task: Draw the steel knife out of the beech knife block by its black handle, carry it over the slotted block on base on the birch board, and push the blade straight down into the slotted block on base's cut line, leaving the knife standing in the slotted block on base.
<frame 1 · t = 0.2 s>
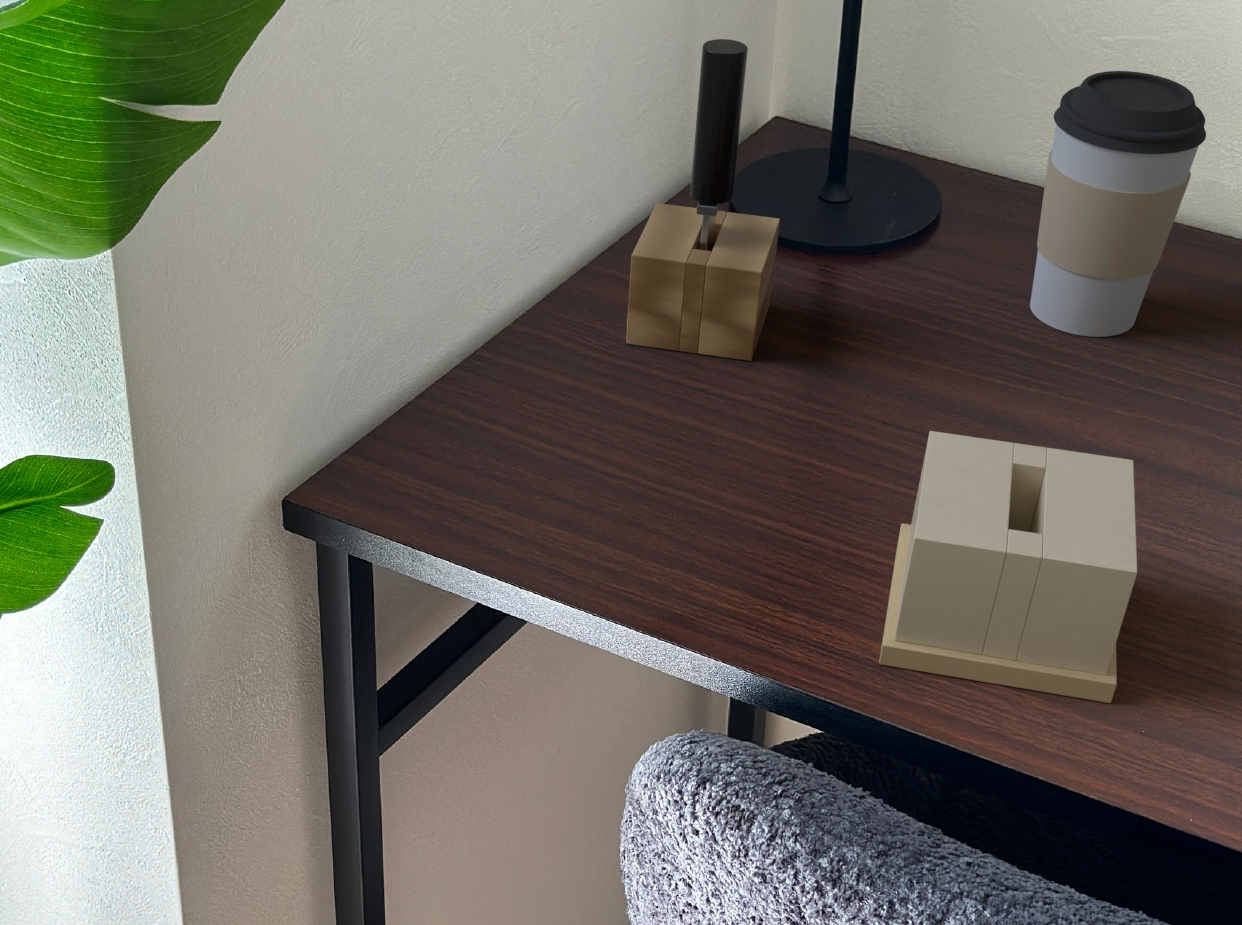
knife block: (699, 324, 110), on the table
slotted block on base: (998, 617, 87), on the table
knife: (711, 192, 105), in the knife block
coffee cup: (1081, 314, 113), on the table
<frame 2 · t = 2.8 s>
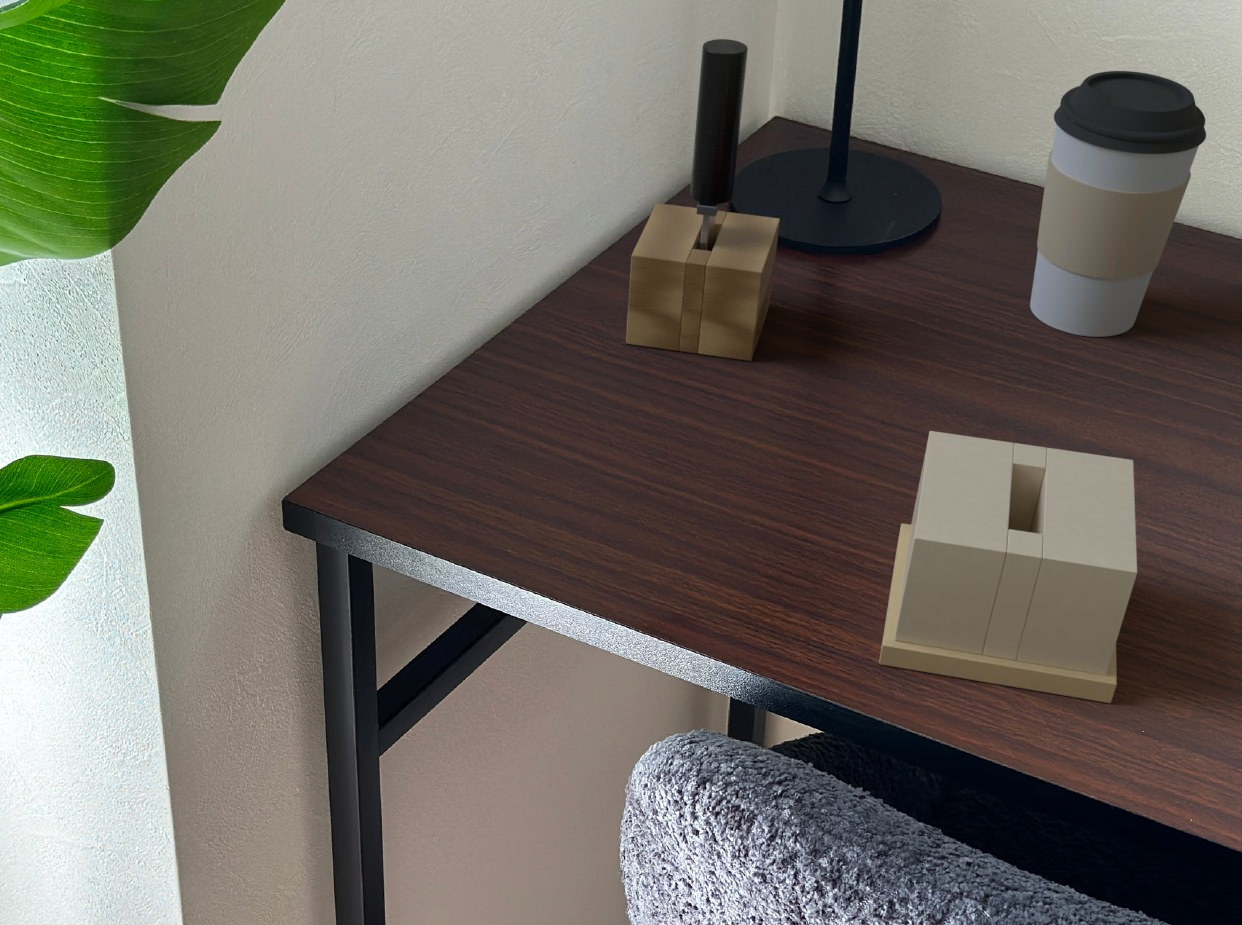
nothing on the table moved.
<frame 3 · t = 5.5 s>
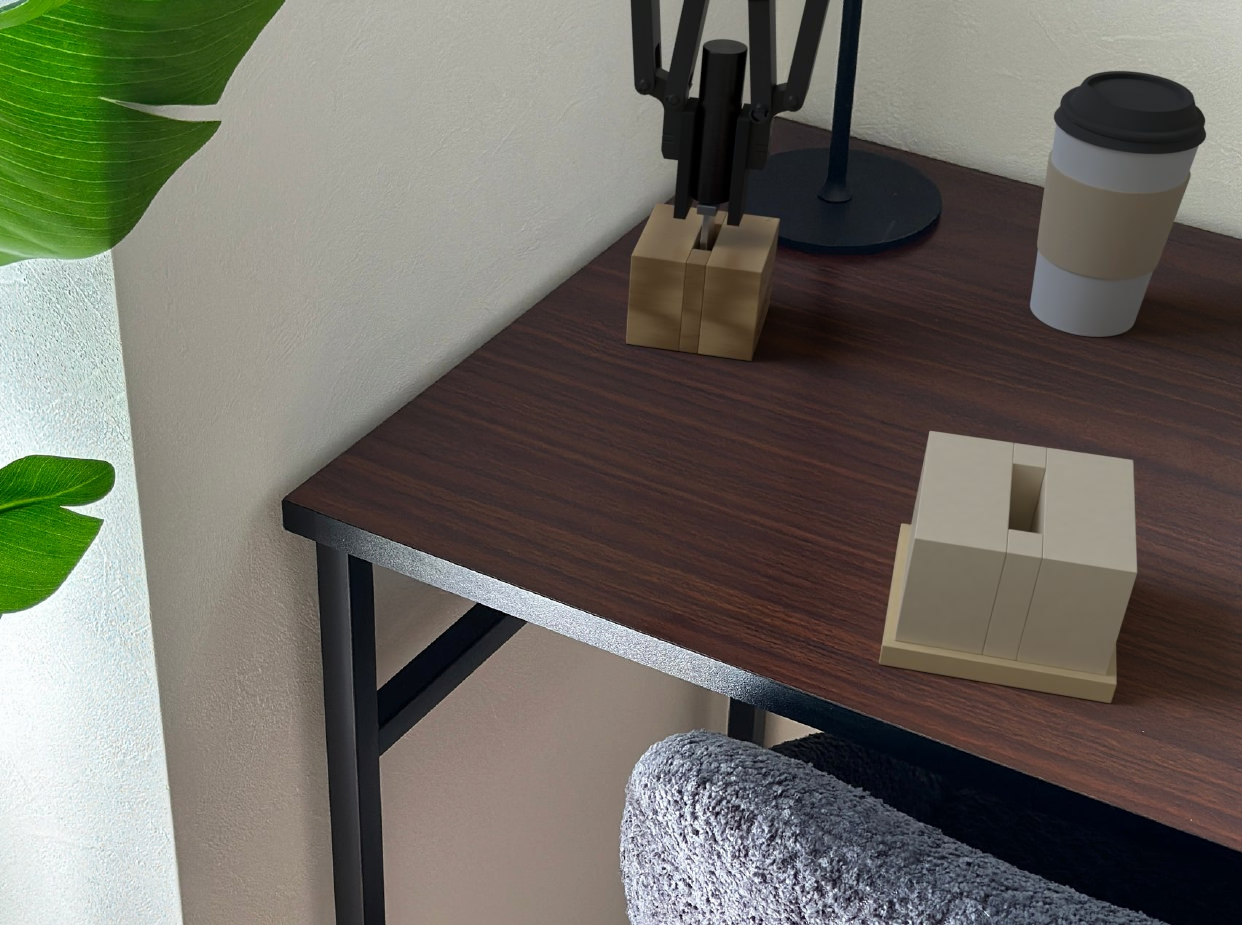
hand: (709, 212, 105), 8 cm above the table, tool pointing down, fingers closed on knife, 3 cm apart
knife: (711, 192, 105), in the knife block, touching gripper
everything else where it was.
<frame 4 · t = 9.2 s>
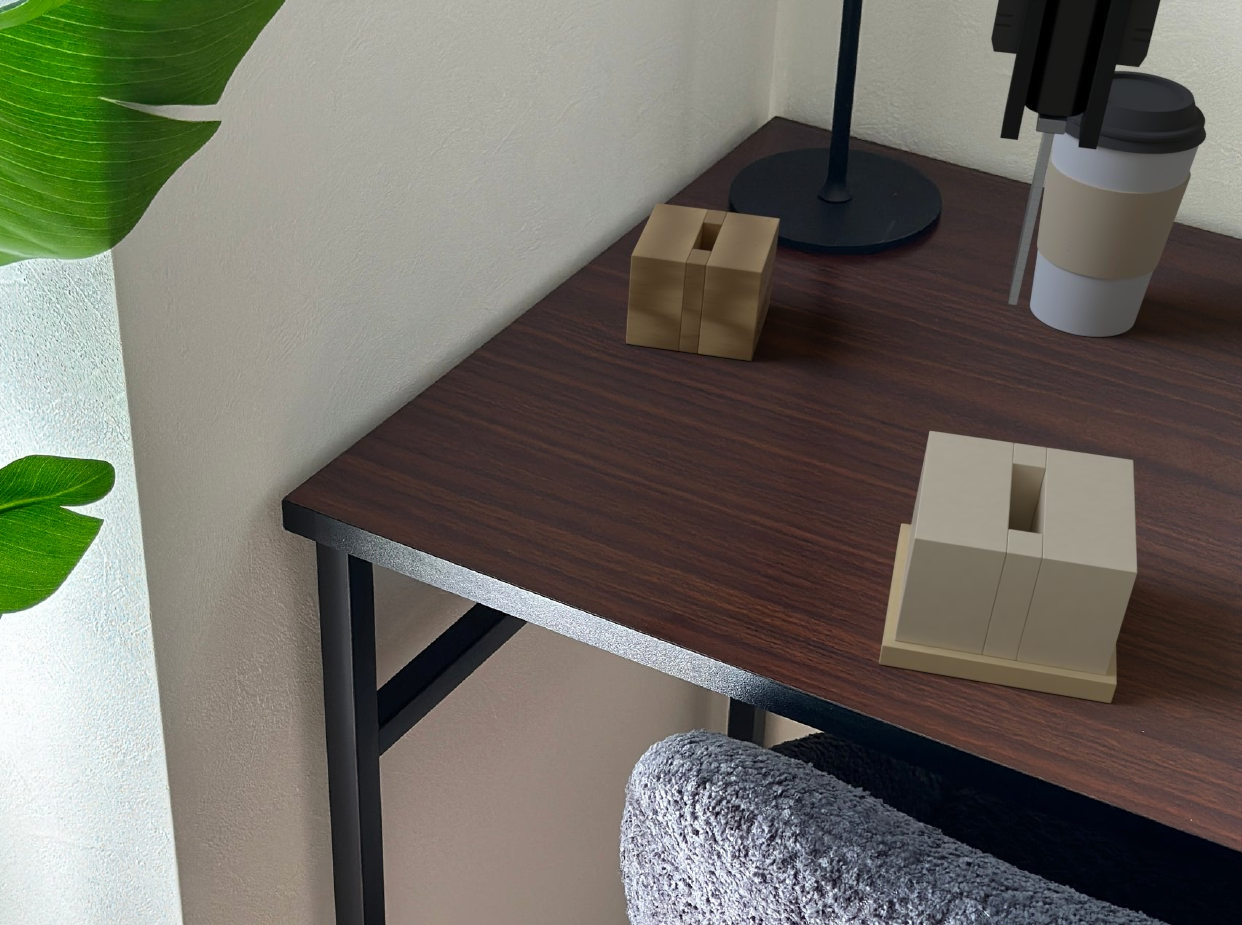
hand: (1049, 131, 75), 23 cm above the table, tool pointing down, fingers closed on knife, 3 cm apart
knife: (1055, 101, 74), point 25 cm above the table, touching gripper
everything else where it was.
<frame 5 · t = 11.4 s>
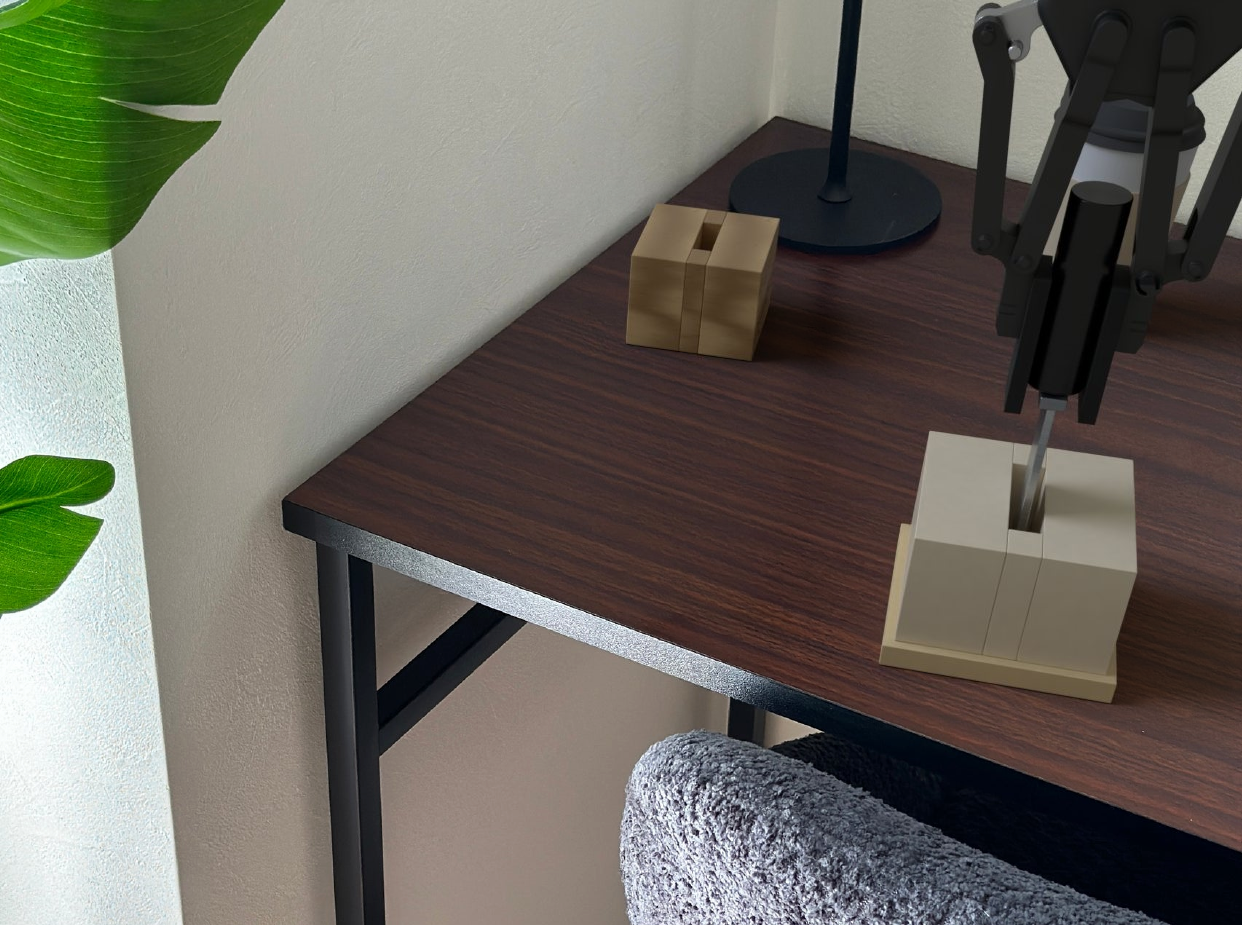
hand: (1049, 403, 79), 12 cm above the table, tool pointing down, fingers closed on knife, 3 cm apart
knife: (1055, 378, 78), point 14 cm above the table, touching gripper
everything else where it was.
when the fingers open (9 cm above the table, at t = 13.0 s): knife stays where it is, resting on slotted block on base.
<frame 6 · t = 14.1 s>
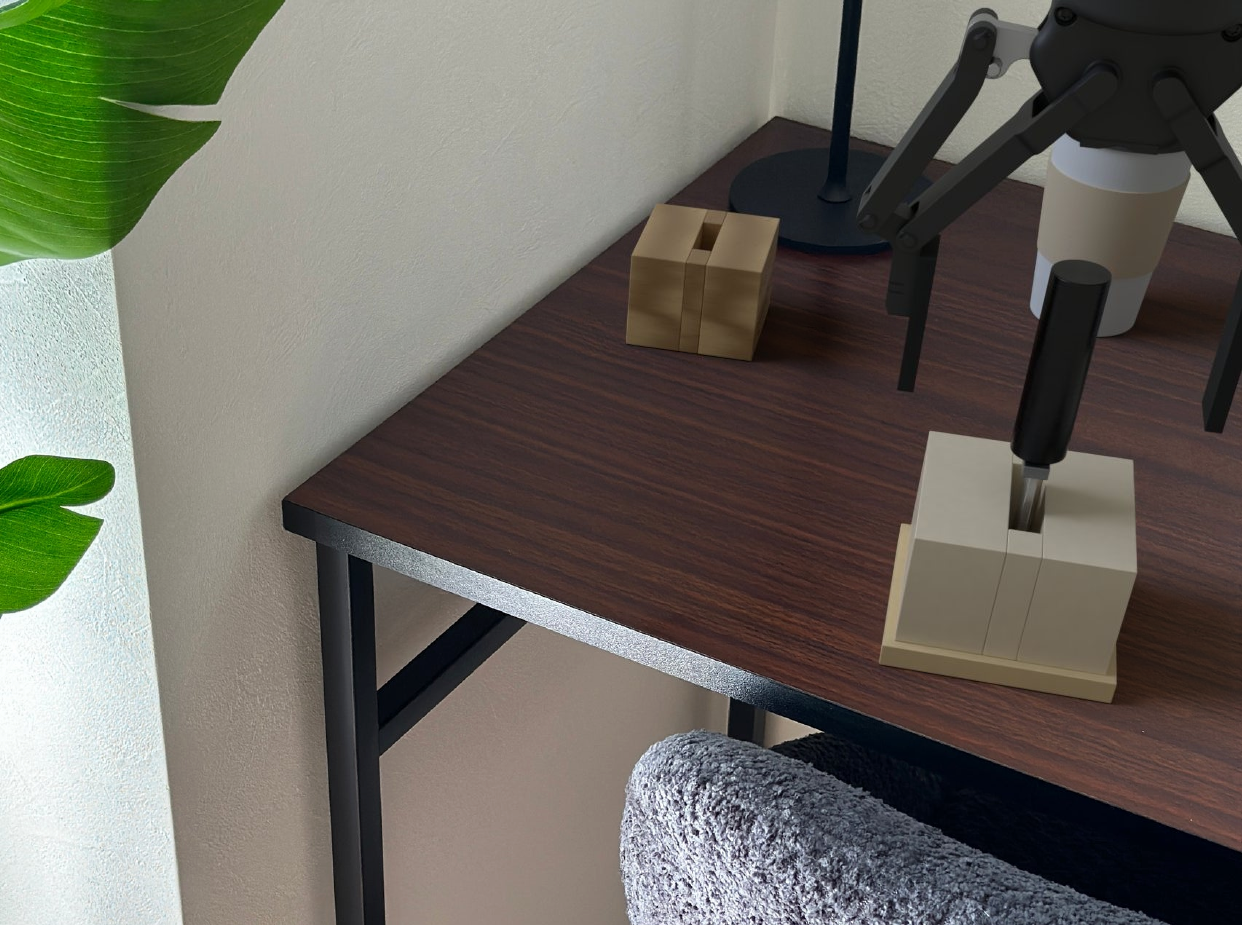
hand: (1057, 398, 79), 13 cm above the table, tool pointing down, fingers open, 13 cm apart
knife: (1038, 446, 80), in the slotted block on base, point 10 cm above the table
everything else where it was.
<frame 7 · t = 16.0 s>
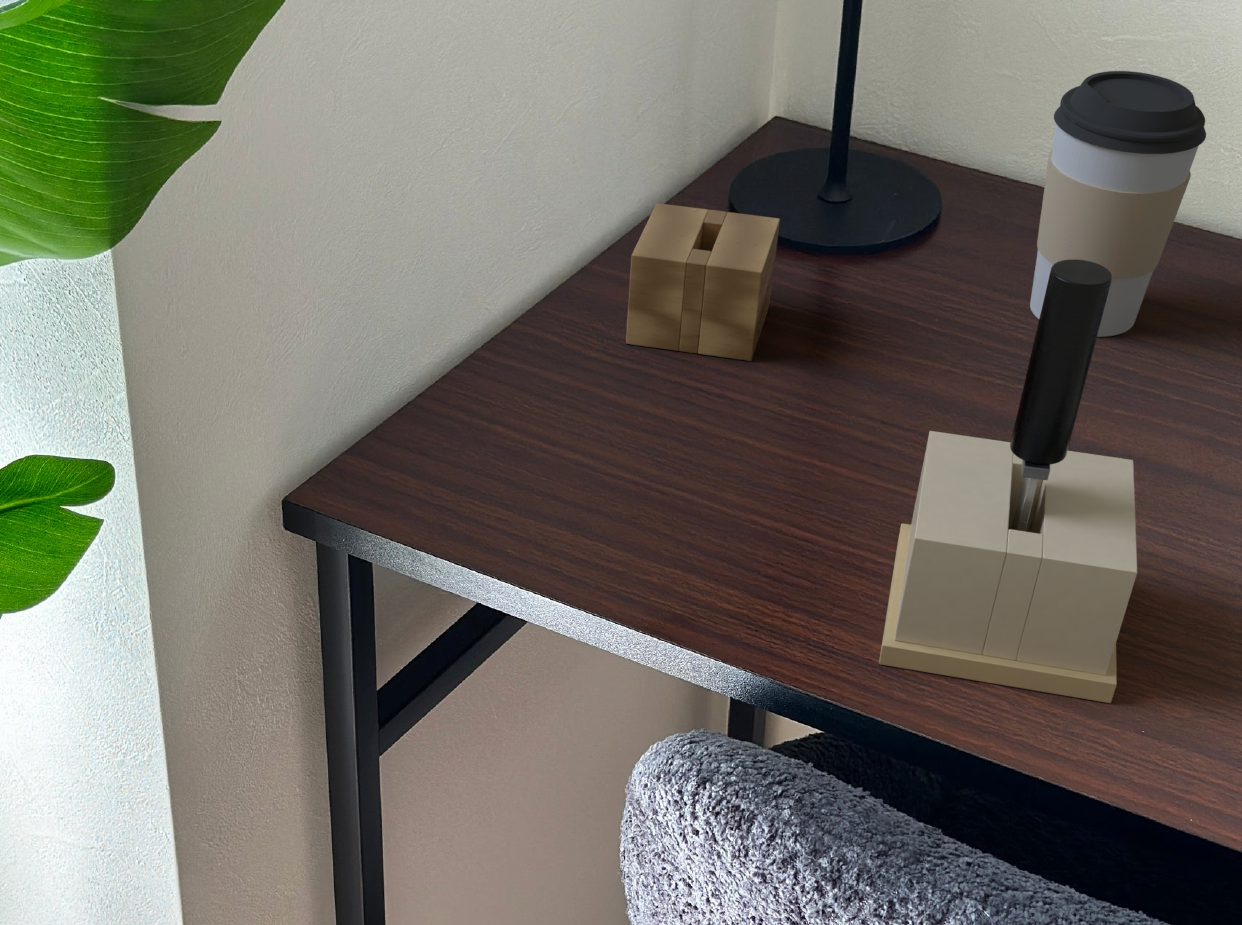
nothing on the table moved.
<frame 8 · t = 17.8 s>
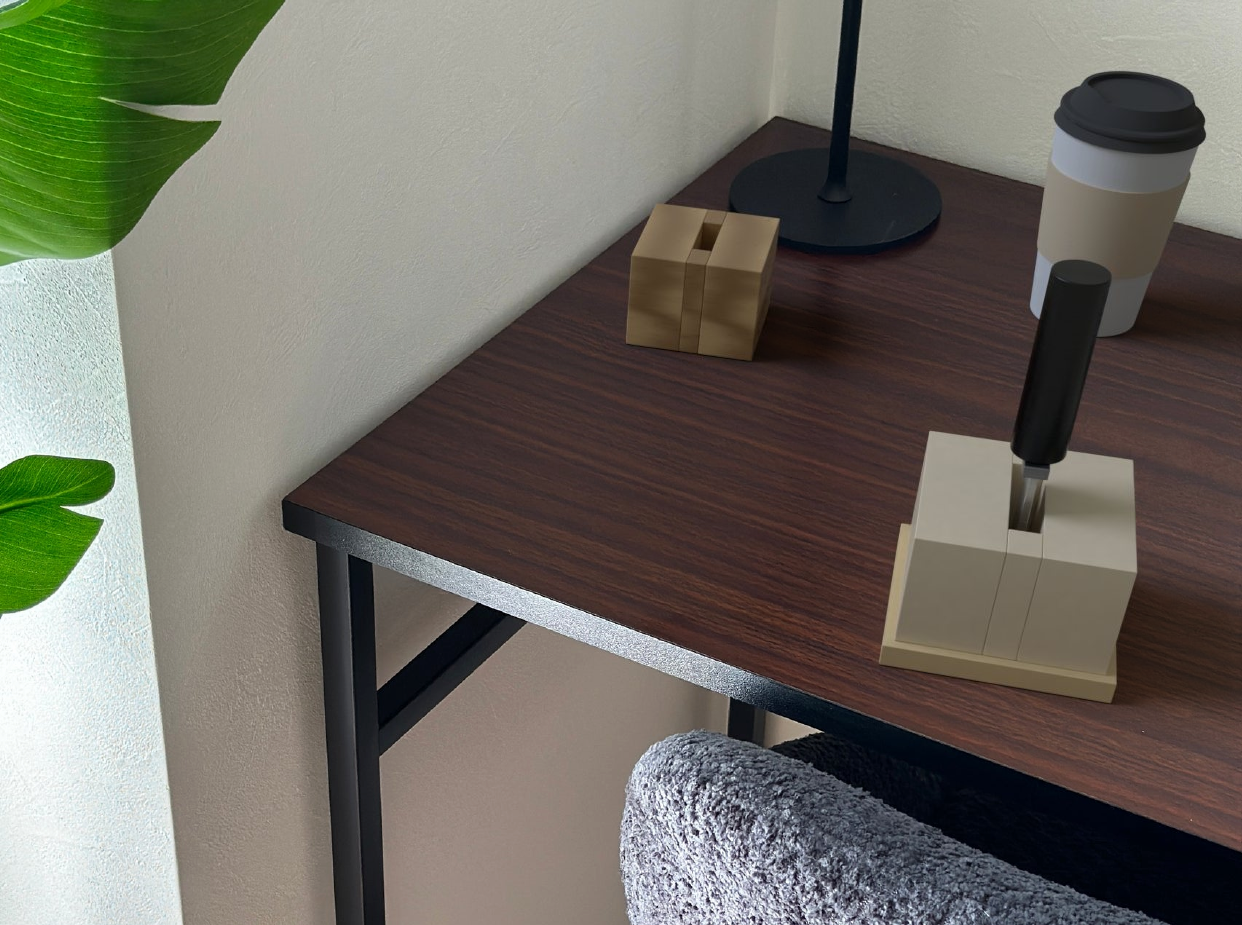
nothing on the table moved.
at the end: knife 0.1 cm off-centre on the slotted block on base, point 10.0 cm above the slotted block on base's base; the gripper is holding nothing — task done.
